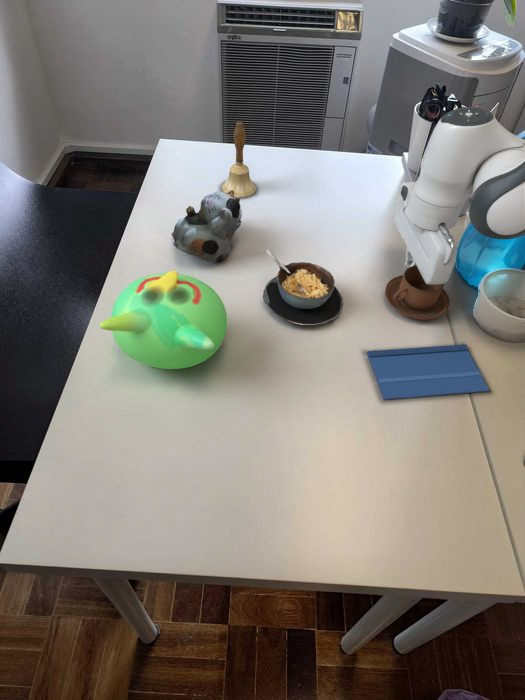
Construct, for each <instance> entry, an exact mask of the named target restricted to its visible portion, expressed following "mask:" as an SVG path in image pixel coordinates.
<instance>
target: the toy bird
mask: <svg viewBox="0 0 525 700" xmlns="http://www.w3.org/2000/svg"><path fill="white" fill-rule="evenodd" d="M110 315H111V316H110V318H108V319H105V320H103V321H101V323H100V324H99V327H100V329H102V330H105V331H111V332H112V335H113V338H114V340H115V343H116V344H117V346H118V347H119V348H120V349H121V351H123V353H125V354H126V355H127V356H128V357H129V358H131V359H132V360H134V361H136V362H137V363H140V364H142V365H145V366H149V367H153V368H157V369H161V370H179V369H186V368H190V367H195V366H197V365H199V364H201V363H203V362H205V361H206V360H208V359H210V358H211V357H212V356H213V355H214V354H215V353H216V352H217V351H218V350H219V348H220V347H221V345H222V343H223V341H224V340H225V336H226V333H227V328H228V315H227V309H226V306H225V305H224V302H223V300H222V298H221V297H220V296H219V293H217V292H216V290H215V289H213V288H212V287H211V286H210V285H208V283H205V282H204V281H202V280H200V279H198V278H195V277H192V276H189V275H185V274H182V273H179V272H178V271H177V270H171V271H169V272H163V273H162V272H160V273H153V274H149V275H146V276H143V277H140V278H138V279H136V280H134V281H132V282H130V284H128V285H127V286H126V287H125V288H124V289H122V291H121V292H120V294H119V295H118V296H117V298H116V299H115V302H114V304H113V306H112V310H111V314H110Z"/></svg>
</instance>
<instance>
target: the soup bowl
mask: <svg viewBox="0 0 525 700" xmlns="http://www.w3.org/2000/svg"><path fill="white" fill-rule="evenodd" d="M266 254H267V255H269V257H271V258H272V259H273V260H274V262H275V263H276V264H277V265H278V267H279V270H278V272H277V275H276V276H275V277H272V278H271V279H270V280H269V281H268V283H266V285H265V288H264V289H263V294H262V298H263V301H264V303H265V305H266V306H267V307H268V309H269V310H270V311H271V312H272V313H274V314H275V315H277V316H278V317H279V318H281V319H283V320H285V321H287V322H289V323H293V324H294V325H295V324H296V325H301V326H314V325H321V324H325V323H328V322H333V321H335V319H337V318H338V317H339V315H340V314H341V312H342V311H343V308H344V299H343V296H342V294H341V292H340V291H339V289H338V288H337V286H335V285H336V283H335V282H336V280H335V279H334V276H333V274H332V273H331V272H330V270H329V271H328V270H327V269H325V268H324V267H323V266H320V265H319V264H315V263H311V262H304V261H300V262H290V263H288V264H284V263H283V262H282V261H281V259H280V258H279V257H278V256H277V255H276V254H275V253H274V252H273V251H271V250H270V249H266Z"/></svg>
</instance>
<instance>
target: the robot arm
mask: <svg viewBox="0 0 525 700" xmlns="http://www.w3.org/2000/svg"><path fill="white" fill-rule="evenodd" d="M467 199H471V200H470V204H469V209H468V217H469V222H470V223H471V225H472V227H473V228H474V229H475V230H476V231H477V232H478V233H479V234H481V235H482V236H485V237H487V238H490V239H494V240H503V241H505V240H514V239H518V238H521V237H524V236H525V138H523V137H520V136H517V135H515V134H513V133H512V132H511V131H509V130H508V129H506V128H505V127H504V126H503V125H502V124H501V123H500V122H499V121H498V120H497V119H496V116H495V115H494V113H492V111H490V110H488V109H485V108H481V107H476V106H464V107H458V108H456V109H452V110H450V111H448V112H447V113H445V114H444V115H443V116H442V117H441V118H440V119H439V120H438V122H437V123H436V125H435V127H434V128H433V130H432V132H431V135H430V137H429V140H428V142H427V145H426V148H425V151H424V153H423V155H422V159H421V163H420V171H419V175H418V177H417V179H416V181H403V182H401V185H400V186H399V197H398V199H397V202H396V207H395V211H394V214H393V215H394V216H393V217H394V221H393V222H394V225H395V226H396V228H397V230H398V233H399V234H400V236H401V238H402V240H403V242H404V244H405V246H406V249H405V262H404V263H403V264H404V265H403V266H404V268H405V270H406V269H408V268H409V267H412V266H417V267H418V269H419V271H420V273H421V275H422V277H423V279H424V281H425V283H426V284H428V285H438V284H444V285H445V284H446V283H448V281H449V279H450V277H451V274H452V271H453V269H454V266H455V262H456V259H457V255H458V254H457V253H458V249H457V245H456V243H455V239H454V236H453V235H452V234H451V233H450V230H451V229H453V228H454V227H455V226H456V224H457V222H458V219H459V218H460V215H461V212H462V211H463V208H464V205H465V203H466V200H467Z"/></svg>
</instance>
